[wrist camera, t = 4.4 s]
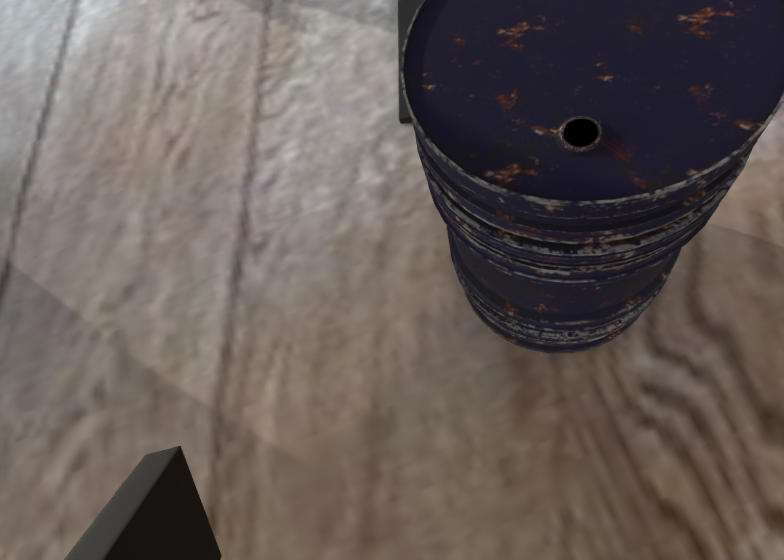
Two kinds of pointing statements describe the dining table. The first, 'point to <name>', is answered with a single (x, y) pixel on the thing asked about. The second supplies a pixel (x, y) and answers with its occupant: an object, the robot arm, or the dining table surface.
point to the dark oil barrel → (583, 146)
